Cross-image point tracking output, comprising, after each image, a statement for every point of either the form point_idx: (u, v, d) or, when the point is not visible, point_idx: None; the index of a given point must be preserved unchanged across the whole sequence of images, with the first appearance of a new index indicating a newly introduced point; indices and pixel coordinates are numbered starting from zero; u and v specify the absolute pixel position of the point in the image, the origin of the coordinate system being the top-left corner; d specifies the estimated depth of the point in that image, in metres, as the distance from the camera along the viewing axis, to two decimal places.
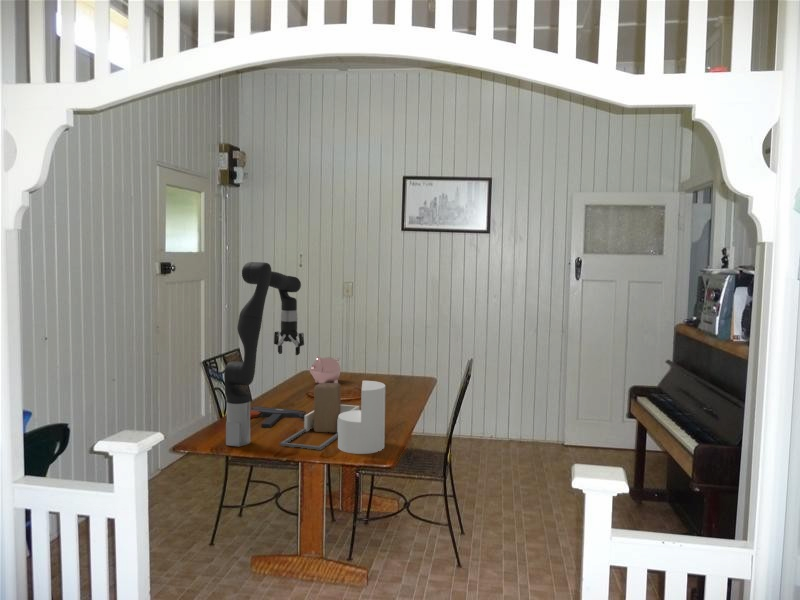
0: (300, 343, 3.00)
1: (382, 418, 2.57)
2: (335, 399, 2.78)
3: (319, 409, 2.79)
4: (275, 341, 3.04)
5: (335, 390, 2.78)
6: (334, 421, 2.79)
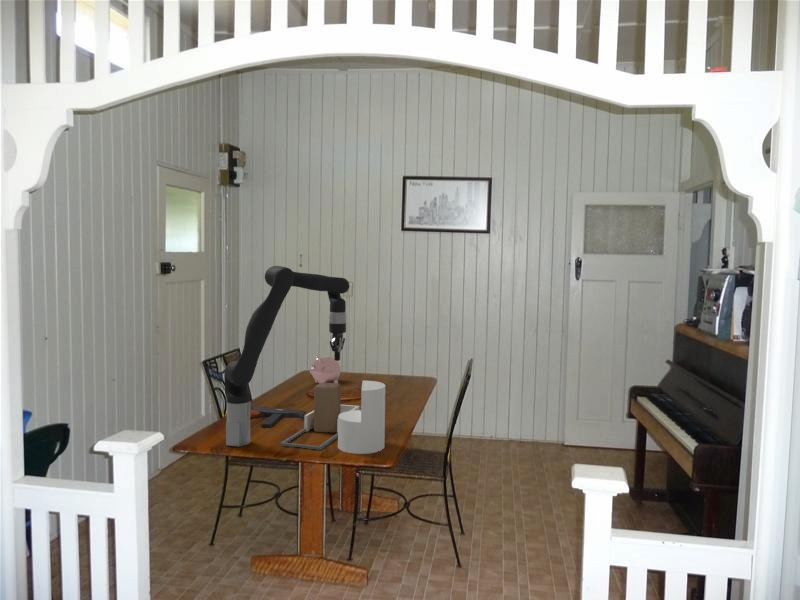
0: (342, 347, 2.95)
1: (382, 418, 2.57)
2: (335, 399, 2.78)
3: (319, 409, 2.79)
4: (337, 348, 2.89)
5: (335, 390, 2.78)
6: (334, 421, 2.79)
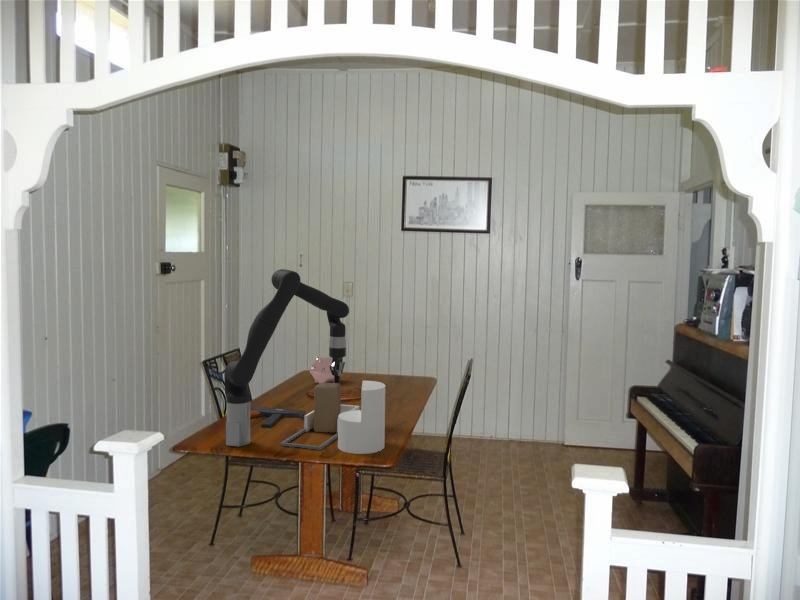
0: (342, 371, 2.95)
1: (382, 418, 2.57)
2: (335, 399, 2.78)
3: (319, 409, 2.79)
4: (337, 372, 2.90)
5: (335, 390, 2.78)
6: (334, 421, 2.79)
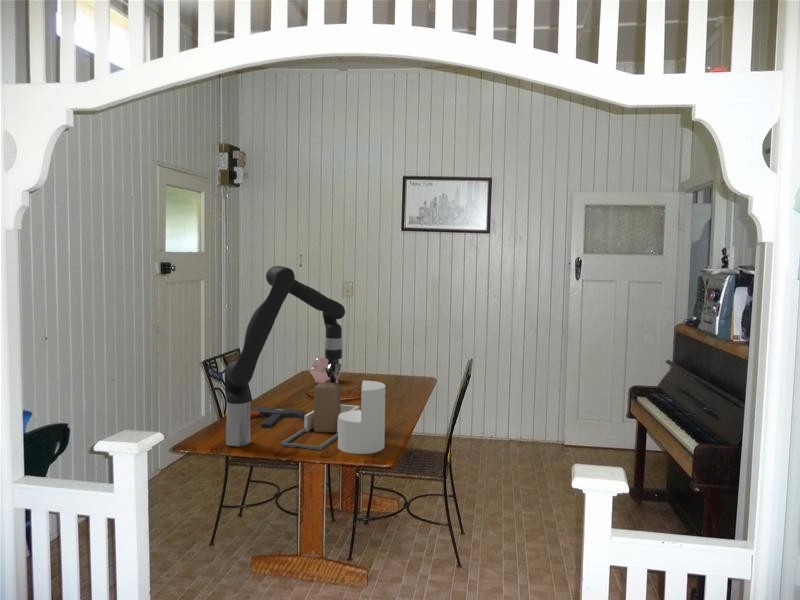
0: (338, 372, 2.91)
1: (382, 418, 2.57)
2: (335, 399, 2.78)
3: (319, 409, 2.79)
4: (333, 374, 2.86)
5: (335, 390, 2.78)
6: (334, 421, 2.79)
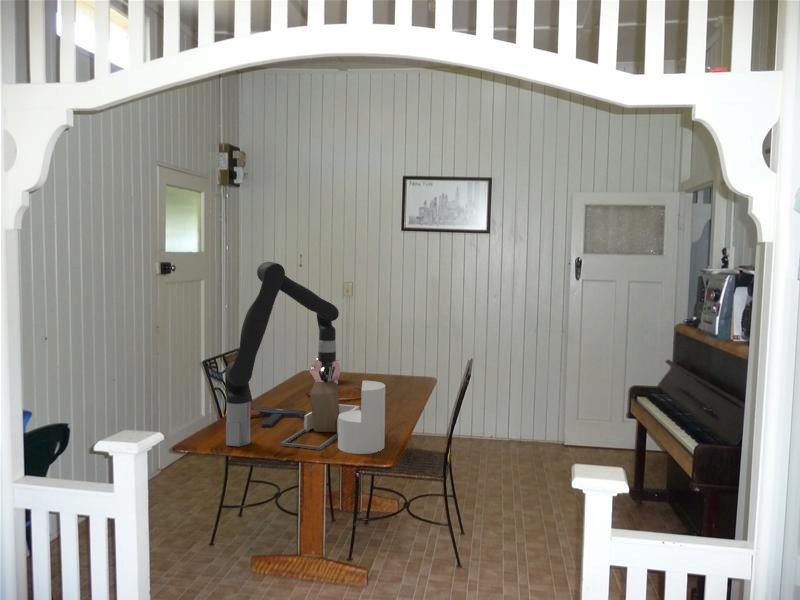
0: (332, 376, 2.85)
1: (382, 418, 2.57)
2: (332, 405, 2.72)
3: (317, 413, 2.75)
4: (327, 377, 2.79)
5: (332, 397, 2.71)
6: (333, 423, 2.77)
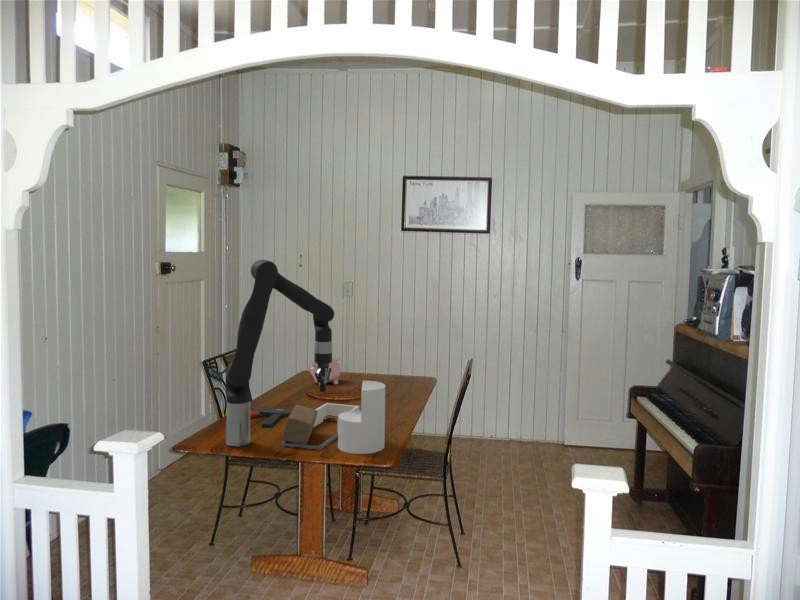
0: (328, 377, 2.80)
1: (382, 418, 2.57)
2: (312, 421, 2.64)
3: (310, 433, 2.70)
4: (323, 379, 2.75)
5: (311, 424, 2.60)
6: (316, 415, 2.74)
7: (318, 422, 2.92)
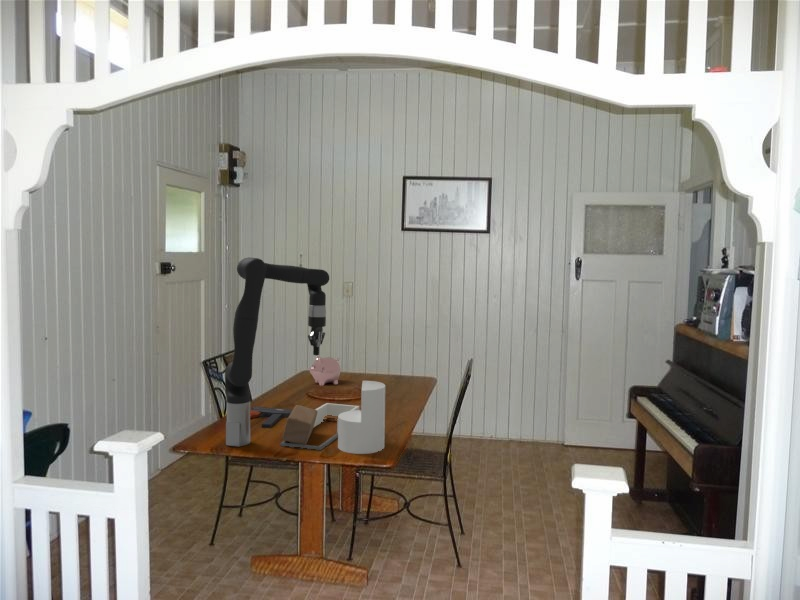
0: (322, 341, 2.84)
1: (382, 418, 2.57)
2: (312, 421, 2.64)
3: (310, 433, 2.70)
4: (316, 342, 2.79)
5: (311, 424, 2.60)
6: (316, 415, 2.74)
7: (318, 422, 2.92)
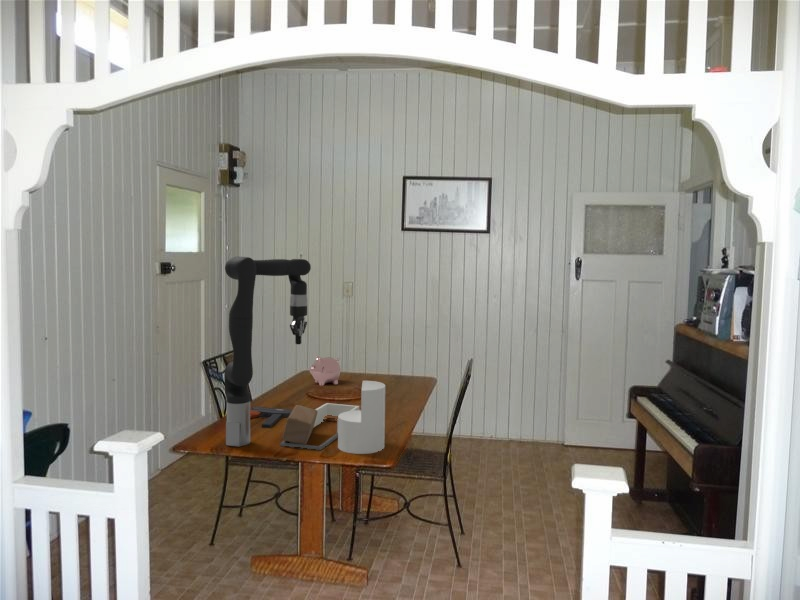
0: (304, 330, 2.87)
1: (382, 418, 2.57)
2: (312, 421, 2.64)
3: (310, 433, 2.70)
4: (298, 331, 2.82)
5: (311, 424, 2.60)
6: (316, 415, 2.74)
7: (318, 422, 2.92)
